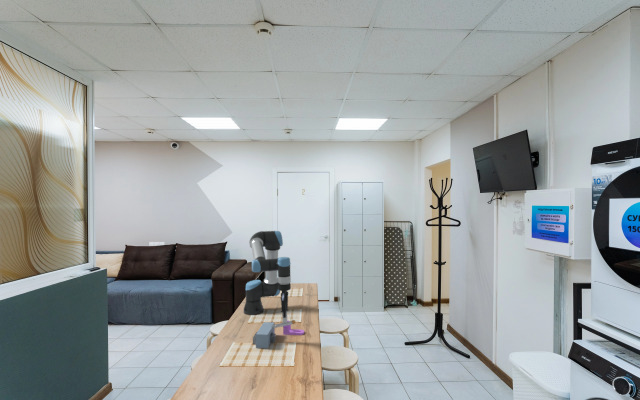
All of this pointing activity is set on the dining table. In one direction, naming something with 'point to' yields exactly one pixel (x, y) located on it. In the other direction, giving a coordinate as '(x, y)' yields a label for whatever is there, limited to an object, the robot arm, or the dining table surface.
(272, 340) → the gray block
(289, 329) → the bracket
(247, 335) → the dining table surface
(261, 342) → the hitch block
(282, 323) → the latch bar
